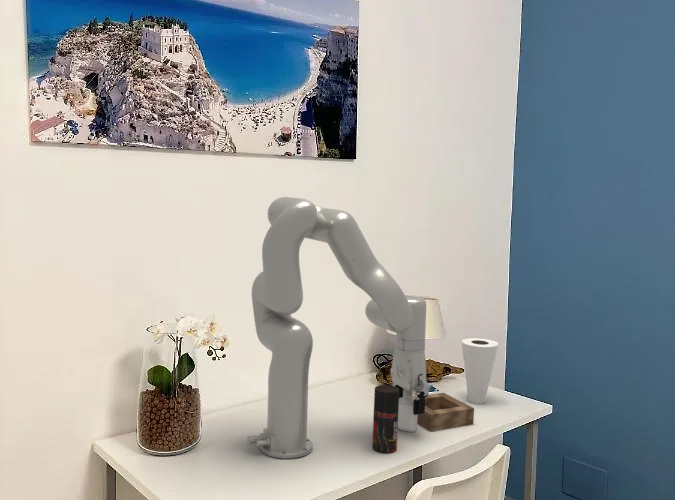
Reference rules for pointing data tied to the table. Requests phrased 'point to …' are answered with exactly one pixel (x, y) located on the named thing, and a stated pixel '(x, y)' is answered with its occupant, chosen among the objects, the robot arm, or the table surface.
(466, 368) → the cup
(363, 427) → the table surface
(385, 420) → the deodorant
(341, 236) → the robot arm
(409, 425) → the eye dropper bottle
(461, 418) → the socket
